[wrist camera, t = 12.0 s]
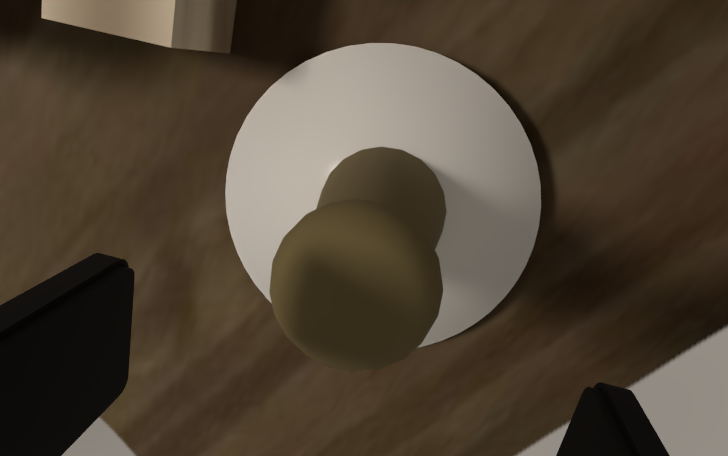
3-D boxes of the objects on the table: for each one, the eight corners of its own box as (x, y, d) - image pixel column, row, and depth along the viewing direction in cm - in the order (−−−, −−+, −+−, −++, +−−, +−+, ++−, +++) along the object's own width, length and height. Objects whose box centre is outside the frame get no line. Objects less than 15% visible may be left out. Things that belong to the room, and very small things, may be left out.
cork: (305, 247, 25) (219, 365, 15) (339, 129, 24) (268, 169, 13) (421, 286, 25) (417, 433, 15) (465, 170, 23) (495, 243, 13)
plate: (579, 83, 23) (587, 84, 22) (486, 368, 28) (489, 381, 26) (256, 12, 24) (247, 9, 23) (217, 301, 28) (208, 311, 27)
